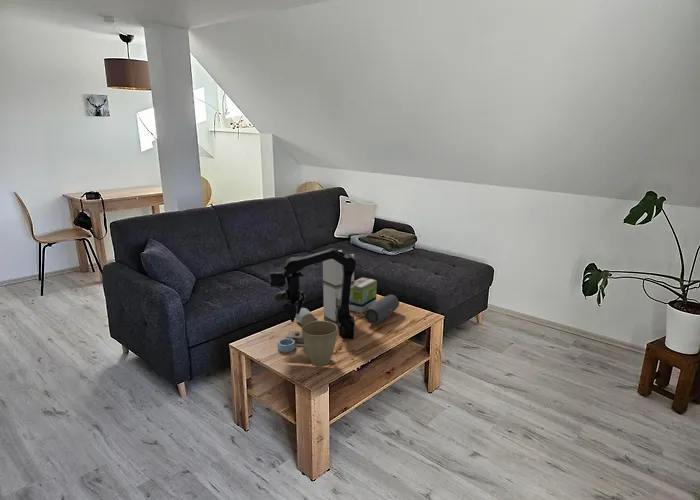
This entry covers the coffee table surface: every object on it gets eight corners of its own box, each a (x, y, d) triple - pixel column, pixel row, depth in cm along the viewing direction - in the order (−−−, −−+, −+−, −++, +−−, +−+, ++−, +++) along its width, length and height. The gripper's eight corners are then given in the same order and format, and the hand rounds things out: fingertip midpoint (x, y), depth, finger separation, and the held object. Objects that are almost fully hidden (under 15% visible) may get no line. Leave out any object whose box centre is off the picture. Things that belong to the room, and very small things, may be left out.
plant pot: (345, 361, 199) (345, 327, 194) (320, 375, 188) (319, 339, 184) (320, 350, 208) (319, 317, 204) (295, 363, 197) (294, 328, 193)
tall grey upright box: (336, 325, 233) (335, 258, 224) (323, 319, 242) (322, 253, 232) (354, 320, 240) (354, 254, 231) (341, 313, 248) (341, 249, 239)
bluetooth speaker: (379, 328, 230) (380, 309, 228) (363, 324, 235) (363, 305, 232) (400, 313, 249) (400, 295, 246) (384, 309, 254) (384, 292, 251)
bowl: (296, 346, 212) (296, 338, 211) (292, 354, 205) (292, 346, 204) (280, 346, 213) (280, 337, 212) (276, 353, 206) (276, 345, 205)
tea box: (362, 313, 248) (362, 287, 244) (346, 309, 253) (346, 284, 250) (376, 304, 260) (377, 279, 256) (361, 301, 266) (361, 276, 262)
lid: (308, 337, 218) (308, 330, 217) (305, 344, 212) (305, 336, 211) (289, 336, 219) (289, 329, 218) (286, 343, 213) (285, 335, 212)
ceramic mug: (301, 329, 230) (301, 314, 228) (295, 323, 237) (295, 308, 235) (321, 324, 235) (321, 310, 233) (314, 319, 242) (314, 305, 240)
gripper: (282, 278, 221) (284, 309, 225) (269, 292, 203) (271, 325, 208) (305, 279, 219) (306, 310, 224) (294, 293, 202) (296, 326, 206)
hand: (295, 317), depth 215 cm, fingers open, 9 cm apart
